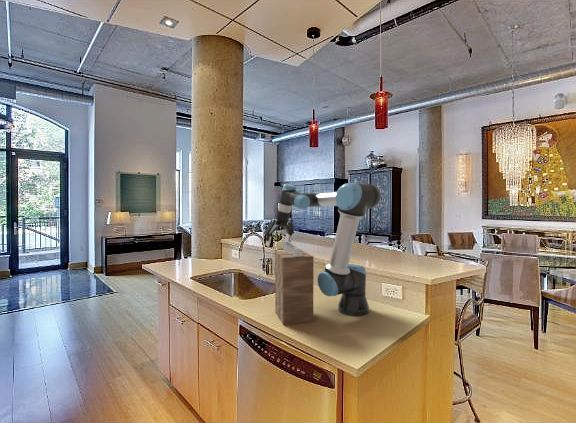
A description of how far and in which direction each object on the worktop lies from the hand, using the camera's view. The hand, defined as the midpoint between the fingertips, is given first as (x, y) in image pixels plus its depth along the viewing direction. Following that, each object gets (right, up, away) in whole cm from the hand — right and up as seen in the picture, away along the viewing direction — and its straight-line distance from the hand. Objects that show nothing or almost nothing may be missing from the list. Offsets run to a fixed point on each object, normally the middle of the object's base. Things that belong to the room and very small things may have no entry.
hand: (276, 245), depth 187 cm
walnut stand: (+9, -30, -36) cm, 48 cm away
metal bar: (+8, 0, -33) cm, 34 cm away
